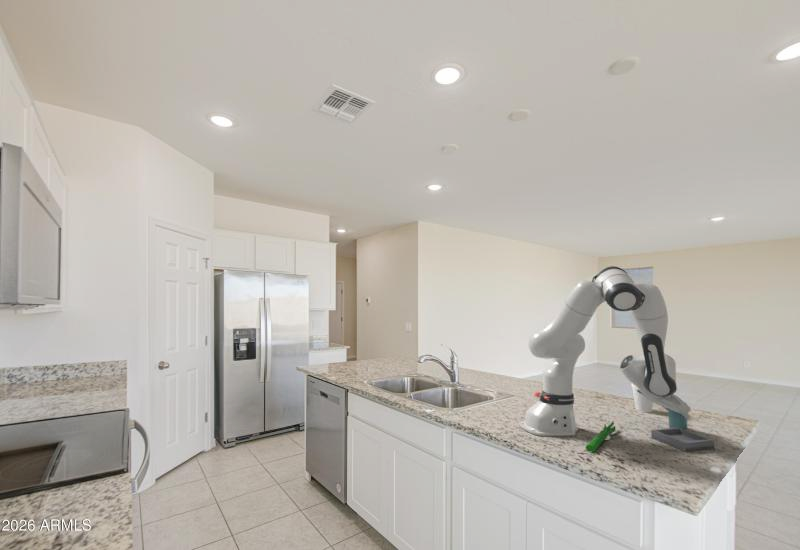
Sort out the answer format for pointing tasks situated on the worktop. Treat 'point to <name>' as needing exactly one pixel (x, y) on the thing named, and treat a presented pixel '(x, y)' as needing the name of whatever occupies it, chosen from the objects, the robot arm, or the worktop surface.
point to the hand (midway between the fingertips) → (679, 414)
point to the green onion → (601, 437)
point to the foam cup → (641, 401)
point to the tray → (682, 439)
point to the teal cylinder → (677, 420)
